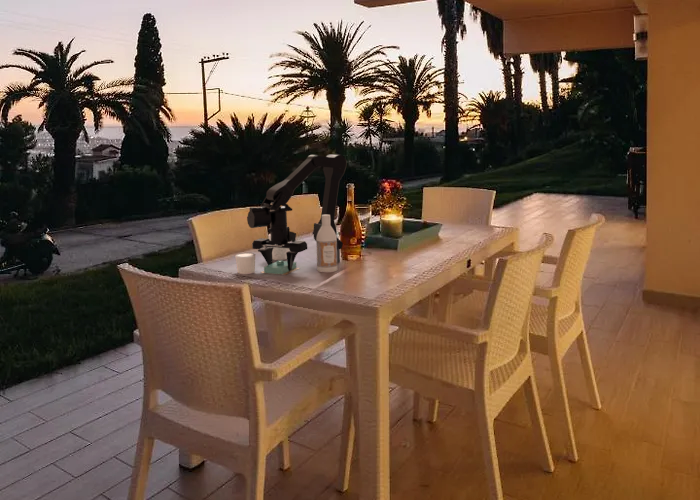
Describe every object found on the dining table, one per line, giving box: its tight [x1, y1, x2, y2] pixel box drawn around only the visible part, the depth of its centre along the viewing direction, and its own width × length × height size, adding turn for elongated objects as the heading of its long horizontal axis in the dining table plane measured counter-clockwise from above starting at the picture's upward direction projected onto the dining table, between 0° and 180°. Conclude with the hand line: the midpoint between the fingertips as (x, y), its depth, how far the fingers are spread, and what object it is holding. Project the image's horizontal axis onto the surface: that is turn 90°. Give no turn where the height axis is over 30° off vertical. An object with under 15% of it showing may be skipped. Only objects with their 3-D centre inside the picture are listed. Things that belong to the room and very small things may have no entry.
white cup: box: [268, 233, 291, 261], centre depth 226 cm, size 8×8×10 cm
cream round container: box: [234, 252, 256, 275], centre depth 205 cm, size 7×7×7 cm
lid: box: [263, 260, 297, 275], centre depth 207 cm, size 7×10×3 cm
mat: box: [260, 267, 301, 276], centre depth 207 cm, size 10×10×1 cm
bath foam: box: [315, 214, 338, 273], centre depth 205 cm, size 7×7×20 cm
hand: (280, 269), depth 207 cm, fingers closed on lid, 7 cm apart
